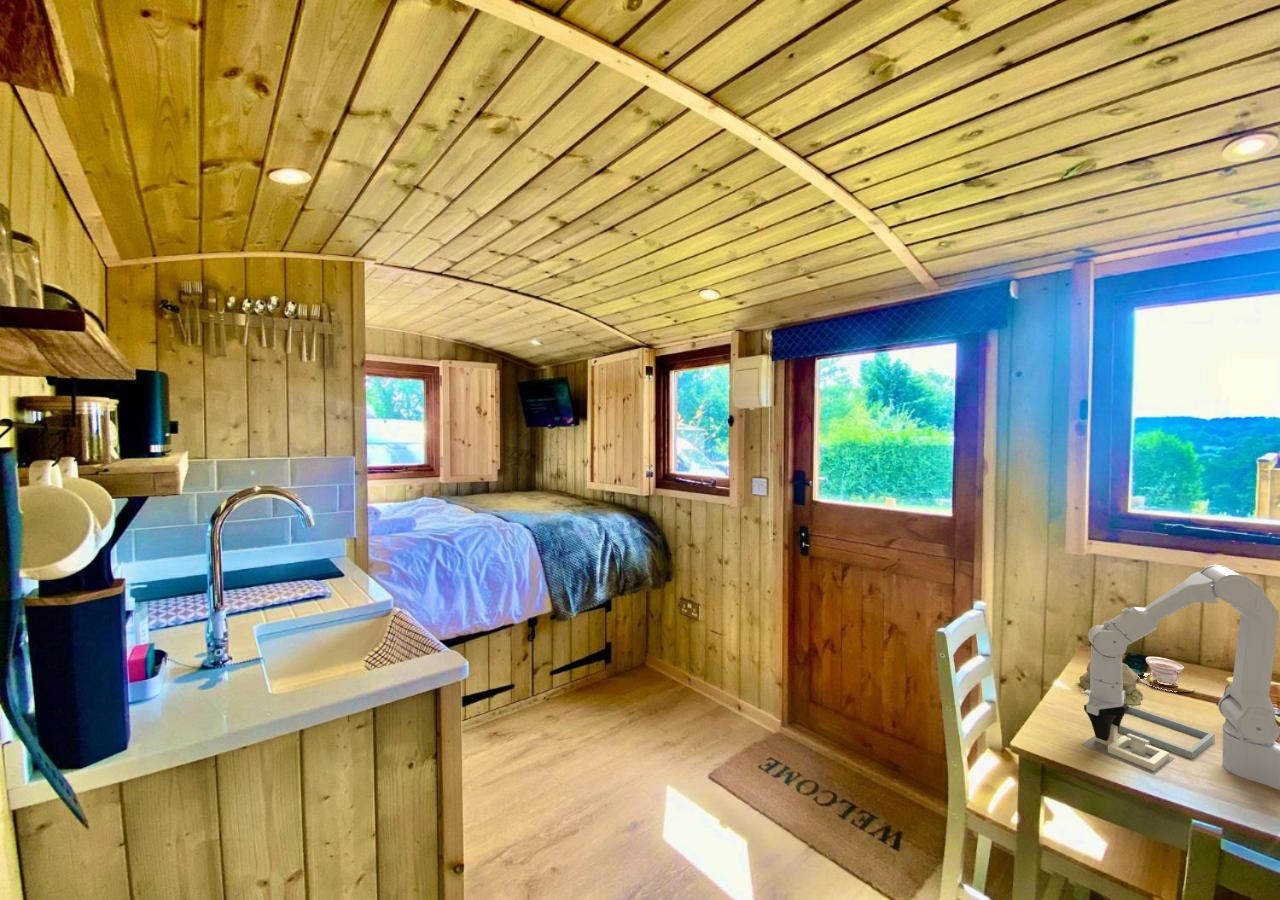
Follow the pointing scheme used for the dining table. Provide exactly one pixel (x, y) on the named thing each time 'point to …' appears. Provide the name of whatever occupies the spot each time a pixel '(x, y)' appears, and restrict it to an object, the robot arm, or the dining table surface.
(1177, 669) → the teacup
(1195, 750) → the tray
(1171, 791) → the dining table surface
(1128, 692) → the ceramic model
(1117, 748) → the square frame with tab
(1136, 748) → the plate
